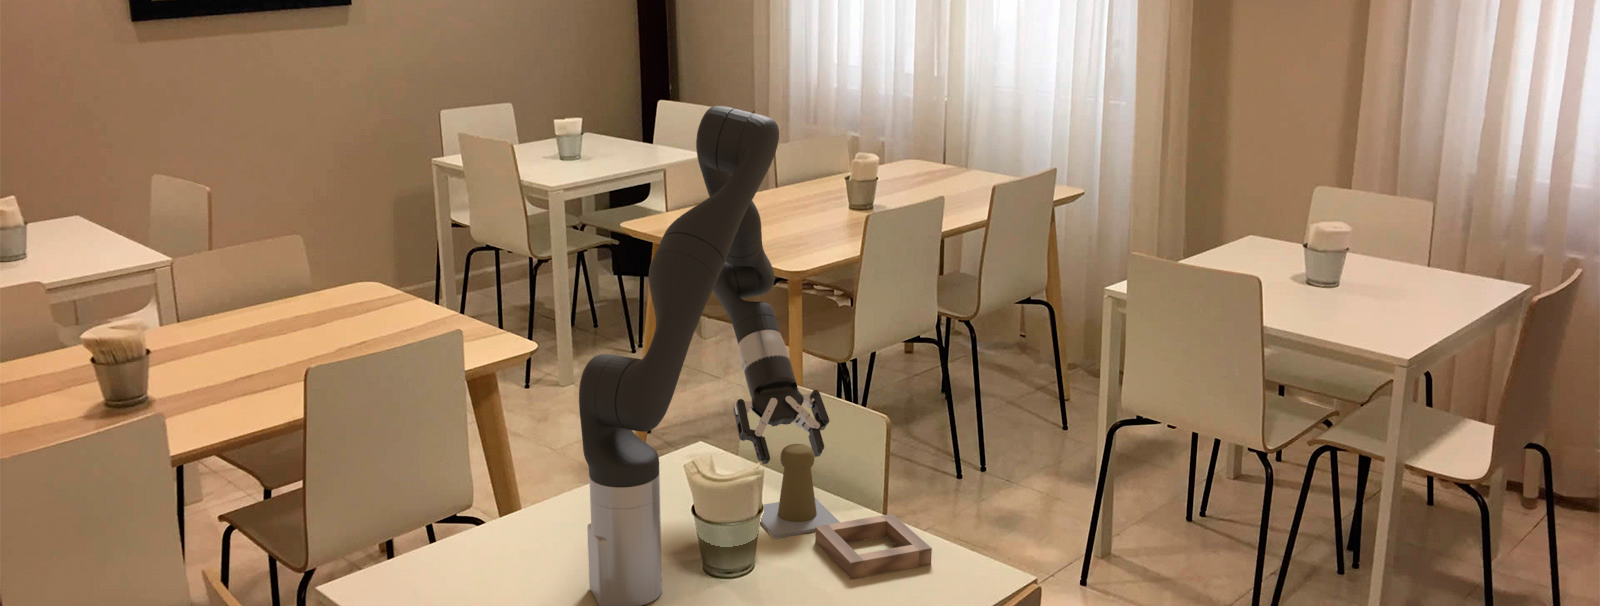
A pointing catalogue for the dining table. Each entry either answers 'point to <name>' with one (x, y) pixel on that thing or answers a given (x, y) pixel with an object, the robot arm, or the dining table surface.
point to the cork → (797, 484)
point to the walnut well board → (877, 562)
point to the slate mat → (788, 528)
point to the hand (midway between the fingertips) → (793, 458)
